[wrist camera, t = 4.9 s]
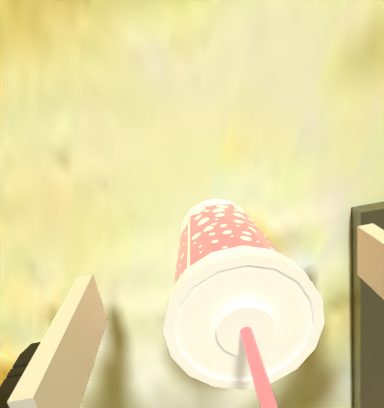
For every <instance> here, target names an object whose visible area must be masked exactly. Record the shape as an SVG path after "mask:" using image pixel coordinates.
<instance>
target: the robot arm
mask: <svg viewBox="0 0 384 408" xmlns="http://www.w3.org/2000/svg"><path fill="white" fill-rule="evenodd" d="M357 275H358V276H359V277H360V278H361V279H362V280H363V281H365V282H366V283H367V284H368V285H369V286H370V287H371V288H372V289H373V290H374V291H375V292H376V293H377V294H378V295H379V296H380V297H381V298H382V299H384V230H383V229H381V228H380V227H378V226H376V225H375V224H373V223H372V224H366V225H361V226H357ZM106 323H107V317H106V314H105V310H104V307H103V304H102V301H101V298H100V295H99V292H98V289H97V285H96V282H95V279H94V276H93V274H91V275H85V276H79V277H77V279H76V280H75V282H74V284H73V286H72V288H71V289H70V291H69V293H68V295H67V296H66V298H65V300H64V302H63V304H62V305H61V307H60V309H59V311H58V312H57V314H56V316H55V318H54V319H53V321H52V323H51V325H50V327H49V328H48V330H47V332H46V334H45V335H44V337H43V339H42V341H41V342H38V343H33V344H31V345H30V346H29V347H28V348H26V349H25V350H24V351H23V352H22V353H21V354H20V356H19V357H18V359H17V360H16V362H15V364H14V365H13V369H11V370H10V372H9V373H8V375H7V379H5V380H4V381H3V383H2V385H1V386H0V408H80V406H81V402H82V399H83V396H84V393H85V390H86V387H87V383H88V380H89V377H90V374H91V371H92V367H93V364H94V361H95V358H96V355H97V352H98V348H99V345H100V342H101V339H102V336H103V333H104V329H105V326H106Z"/></svg>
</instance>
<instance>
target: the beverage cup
mask: <svg viewBox="0 0 384 408" xmlns="http://www.w3.org/2000/svg"><path fill="white" fill-rule="evenodd" d="M324 324H325V321H324V311H323V302H322V296H321V295H320V293H319V292H318V290H317V289H316V287H315V286H314V284H313V283H312V282H311V280H310V279H309V277H308V276H307V274H306V273H305V271H304V270H302V269H301V268H300V266H299V265H298V264H297V263H295V262H294V261H292V260H290V259H289V258H287V257H285V256H283V255H282V254H280V252H279V251H278V250H277V249H276V248H275V247H274V245H273V244H272V243H271V242H270V241H269V240H268V238H267V237H266V236H265V235H264V234H263V233H262V232H261V230H260V229H259V228H258V227H257V226H256V225H255V223H254V222H253V221H252V220H251V219H250V218H249V216H248V215H247V214H246V213H245V212H244V211H243V209H242V208H241V207H239V206H237V205H236V204H234V203H232V202H231V201H228V200H222V199H211V200H207V201H203V202H201V203H199V204H198V205H196V206H195V207H193V208H192V209H190V210H189V212H188V214H187V215H186V217H185V218H184V220H183V221H182V227H181V233H180V241H179V250H178V259H177V268H176V277H175V285H174V286H173V288H172V289H171V291H170V292H169V296H168V302H167V308H166V313H165V321H164V327H163V334H164V337H165V340H166V343H167V346H168V349H169V352H170V356H171V358H172V359H173V360H174V361H175V362H176V363H177V364H178V365H179V366H180V367H181V368H182V369H183V370H184V371H185V372H186V373H187V374H188V375H189V376H190V377H193V378H195V379H197V380H199V381H202V382H204V383H206V384H208V385H211V386H213V387H220V388H231V389H247V388H252V387H255V390H256V393H257V397H258V401H259V404H260V408H278V406H277V403H276V400H275V397H274V394H273V391H272V388H271V385H270V384H271V383H273V382H275V381H276V380H278V379H280V378H282V377H284V376H285V375H287V374H289V373H291V372H293V371H294V370H296V369H297V368H298V367H299V366H300V365H301V364H302V363H303V362H304V361H305V360H306V358H307V357H308V356H309V355H310V354H311V353H312V352H313V351H314V350H315V348H316V346H317V343H318V340H319V338H320V335H321V332H322V329H323V327H324Z"/></svg>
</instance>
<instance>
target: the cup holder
mask: <svg viewBox="0 0 384 408" xmlns="http://www.w3.org/2000/svg"><path fill="white" fill-rule="evenodd" d="M372 223H373V224H375V225H376V226H378V227H380V228H381V229H383V230H384V202H380V203H374V204H369V205H363V206H358V207H352V283H353V408H384V299H382V298H381V297H380V296H379V295H378V294H377V293H376V292H375V291H374V290H373V289H372V288H371V287H370V286H369V285H368V284H367V283H366V282H365V281H363V280H362V279H361V278H360V277H359V276H358V275H357V226H361V225H366V224H372Z"/></svg>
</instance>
